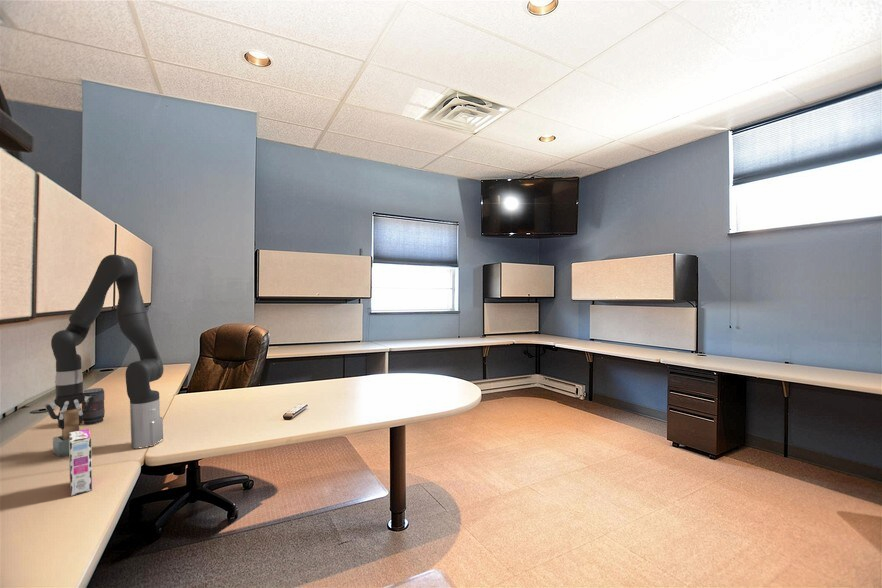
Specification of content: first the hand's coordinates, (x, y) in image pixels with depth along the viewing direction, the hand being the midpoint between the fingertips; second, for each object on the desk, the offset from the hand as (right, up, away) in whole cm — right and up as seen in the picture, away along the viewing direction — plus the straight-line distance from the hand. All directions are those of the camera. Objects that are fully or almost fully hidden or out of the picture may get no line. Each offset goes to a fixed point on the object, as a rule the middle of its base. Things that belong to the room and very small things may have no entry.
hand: (70, 426), depth 148 cm
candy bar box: (+30, -9, -28) cm, 42 cm away
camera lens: (-19, -9, +32) cm, 38 cm away
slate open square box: (0, -9, 0) cm, 9 cm away
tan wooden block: (0, -4, 0) cm, 4 cm away
